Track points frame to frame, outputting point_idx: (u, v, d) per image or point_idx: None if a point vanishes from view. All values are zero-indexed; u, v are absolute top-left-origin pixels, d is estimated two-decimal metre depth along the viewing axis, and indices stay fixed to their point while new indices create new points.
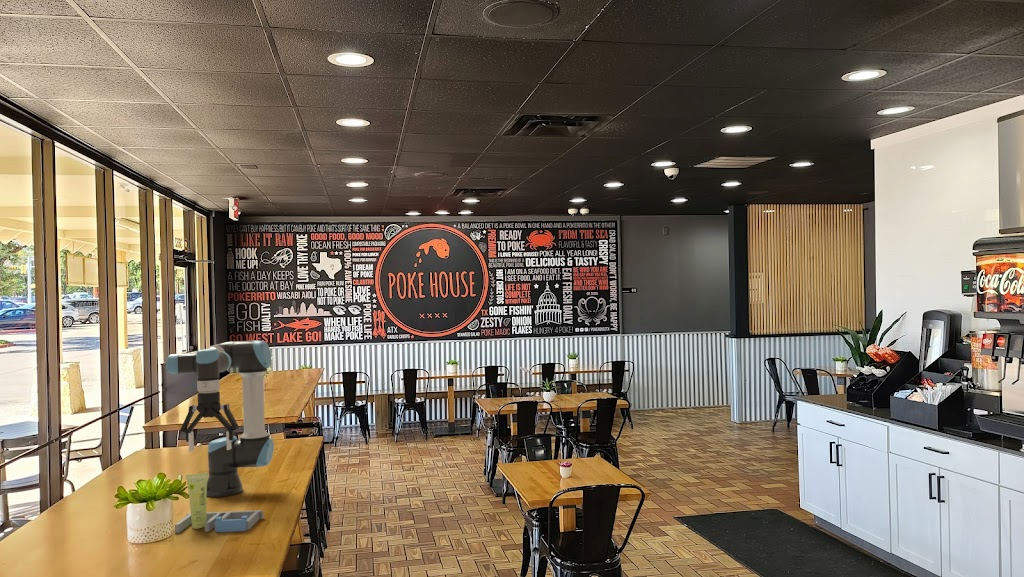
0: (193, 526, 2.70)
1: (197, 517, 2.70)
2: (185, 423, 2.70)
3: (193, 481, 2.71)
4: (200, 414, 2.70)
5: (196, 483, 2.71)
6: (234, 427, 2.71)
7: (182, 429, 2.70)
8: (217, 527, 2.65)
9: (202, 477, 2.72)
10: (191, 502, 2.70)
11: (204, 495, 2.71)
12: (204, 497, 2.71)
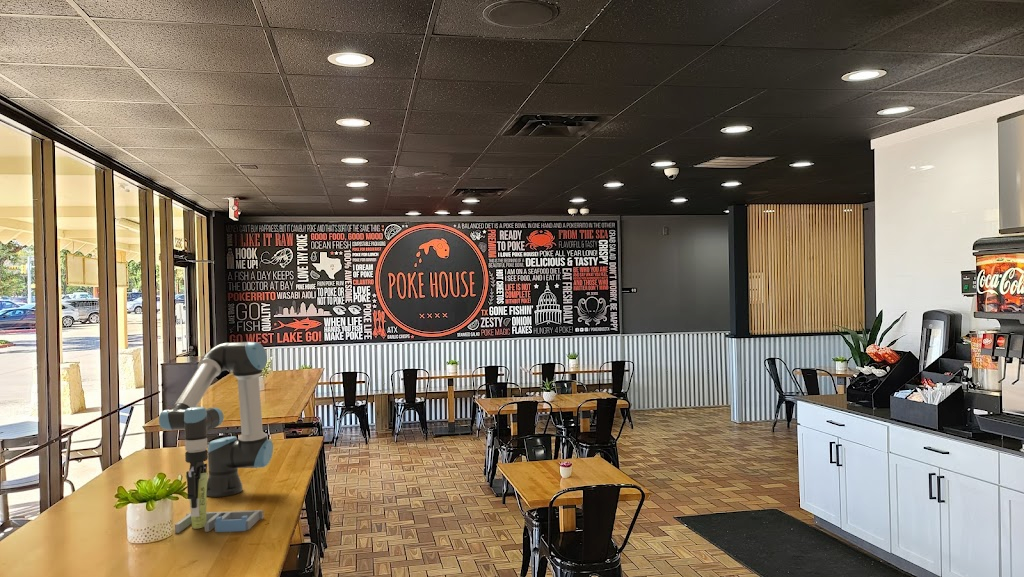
0: (193, 526, 2.70)
1: (197, 517, 2.70)
2: None
3: None
4: None
5: None
6: None
7: None
8: (217, 527, 2.65)
9: (202, 477, 2.72)
10: None
11: (204, 495, 2.71)
12: (204, 497, 2.71)
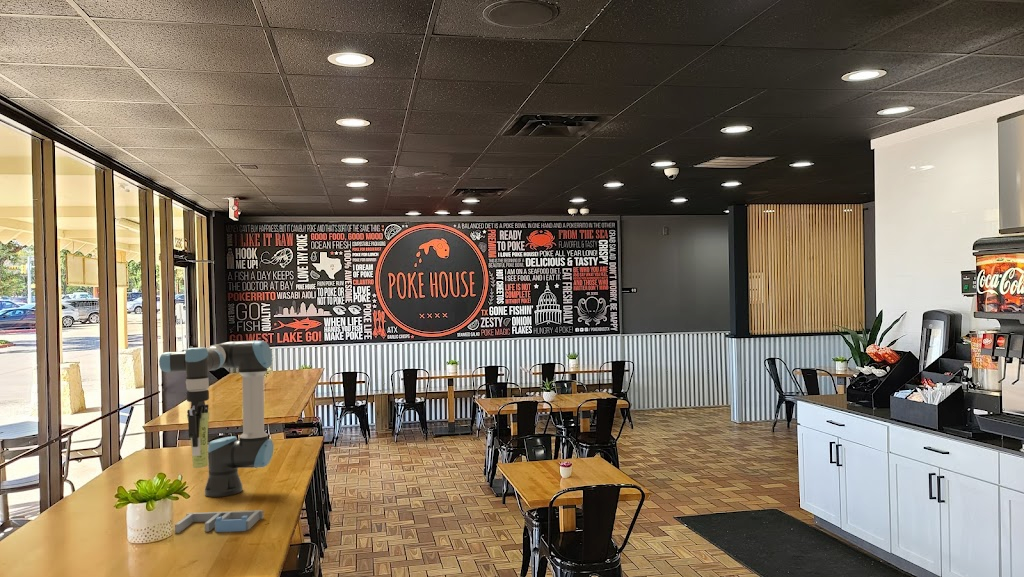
0: (194, 465, 2.70)
1: (198, 457, 2.70)
2: None
3: None
4: None
5: None
6: None
7: None
8: (217, 527, 2.65)
9: (203, 417, 2.72)
10: None
11: (205, 435, 2.72)
12: (205, 437, 2.72)
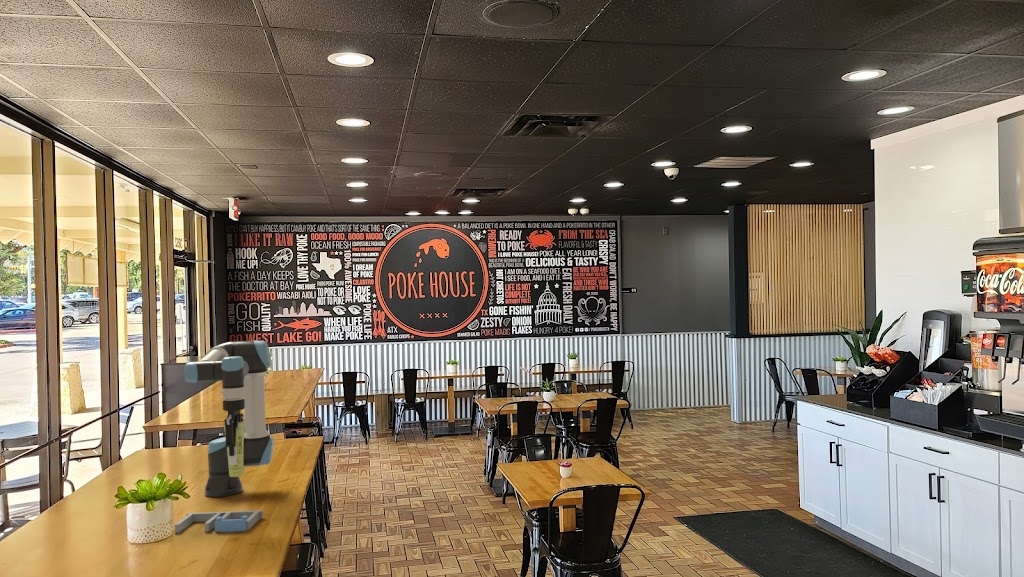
0: (231, 474, 2.70)
1: (234, 466, 2.70)
2: None
3: None
4: None
5: None
6: None
7: None
8: (217, 527, 2.65)
9: (239, 426, 2.73)
10: None
11: (241, 444, 2.72)
12: (241, 446, 2.72)
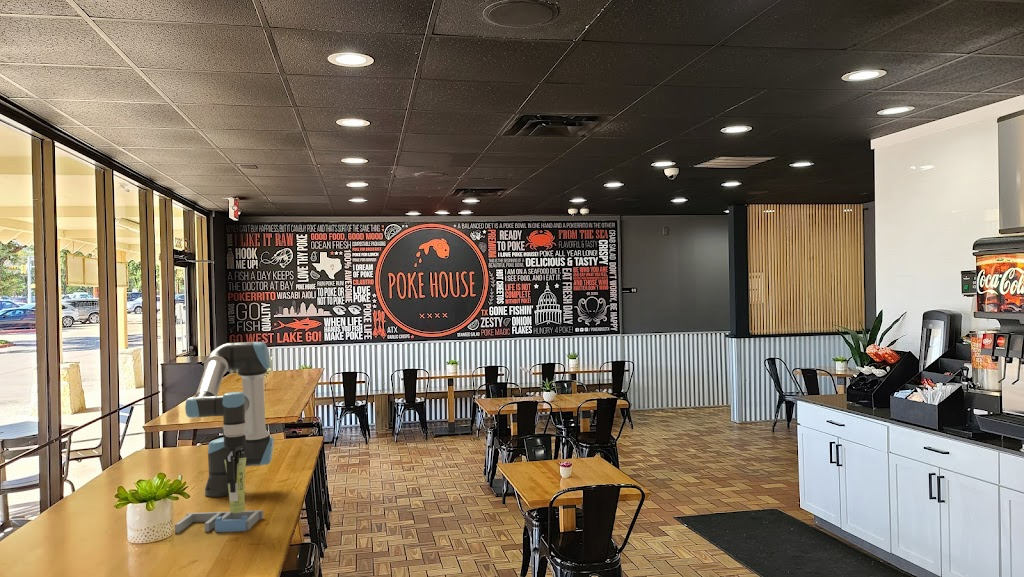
0: (232, 511, 2.70)
1: (235, 502, 2.70)
2: None
3: None
4: None
5: None
6: None
7: None
8: (217, 527, 2.65)
9: (240, 462, 2.72)
10: None
11: (242, 480, 2.72)
12: (242, 482, 2.72)
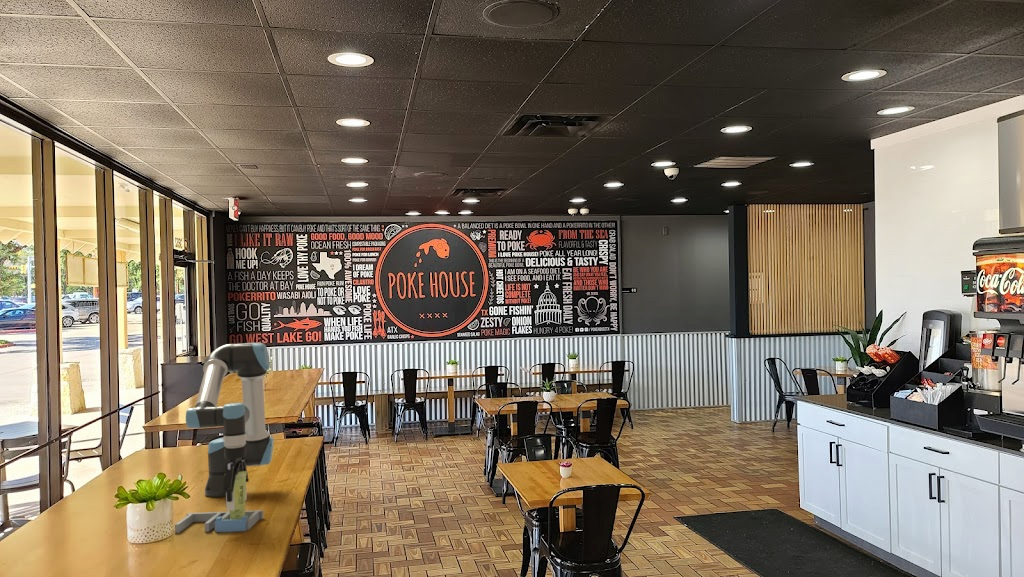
0: None
1: (236, 516, 2.70)
2: None
3: None
4: None
5: (235, 481, 2.71)
6: None
7: None
8: (217, 527, 2.65)
9: (241, 475, 2.73)
10: None
11: (243, 493, 2.72)
12: (243, 495, 2.72)
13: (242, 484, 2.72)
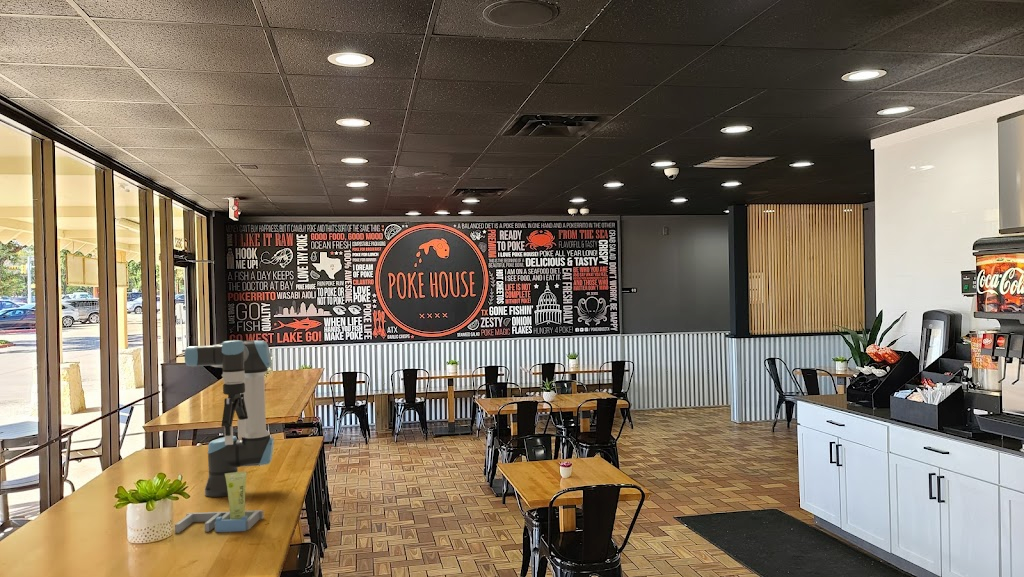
0: None
1: (236, 516, 2.70)
2: None
3: (232, 479, 2.71)
4: None
5: (235, 481, 2.71)
6: None
7: None
8: (217, 527, 2.65)
9: (241, 475, 2.73)
10: (230, 500, 2.70)
11: (243, 493, 2.72)
12: (243, 495, 2.72)
13: (242, 484, 2.72)
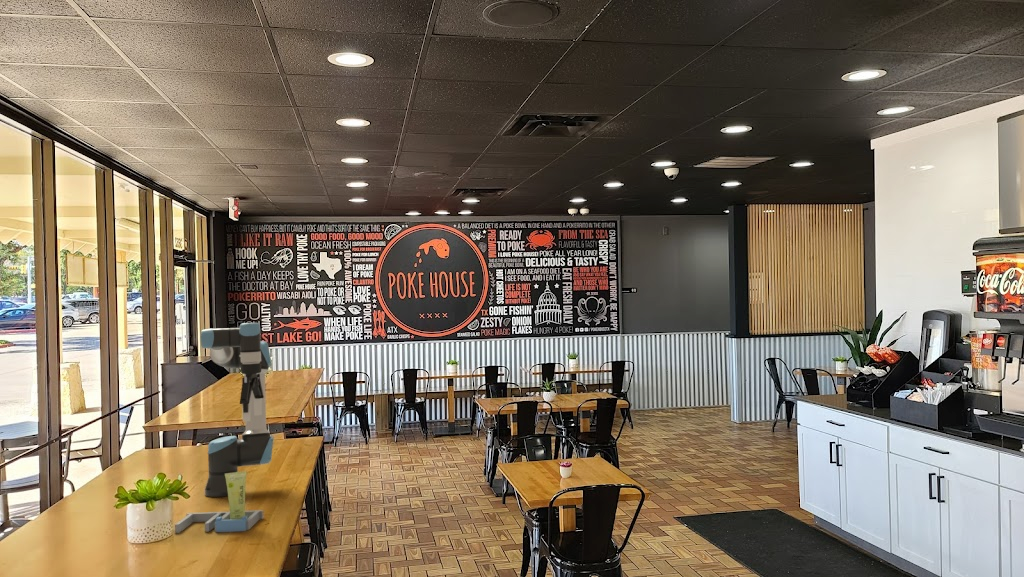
0: None
1: (236, 516, 2.70)
2: None
3: (232, 479, 2.71)
4: None
5: (235, 481, 2.71)
6: None
7: None
8: (217, 527, 2.65)
9: (241, 475, 2.73)
10: (230, 500, 2.70)
11: (243, 493, 2.72)
12: (243, 495, 2.72)
13: (242, 484, 2.72)
